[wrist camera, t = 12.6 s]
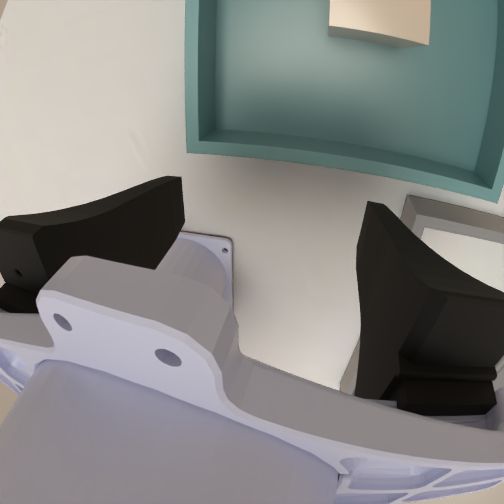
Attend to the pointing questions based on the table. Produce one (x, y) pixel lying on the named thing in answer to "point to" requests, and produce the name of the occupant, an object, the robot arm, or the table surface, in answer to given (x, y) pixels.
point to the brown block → (381, 21)
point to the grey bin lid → (499, 379)
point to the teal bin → (349, 92)
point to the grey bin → (444, 219)
